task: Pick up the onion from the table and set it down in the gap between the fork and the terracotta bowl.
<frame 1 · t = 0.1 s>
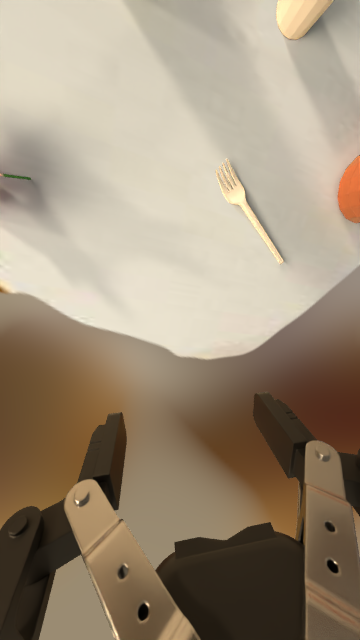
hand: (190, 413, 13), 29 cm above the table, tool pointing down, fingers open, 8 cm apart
fork: (251, 219, 38), on the table
cream cylinder: (294, 13, 30), on the table
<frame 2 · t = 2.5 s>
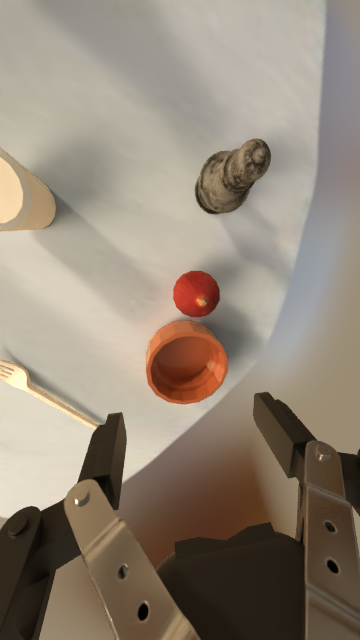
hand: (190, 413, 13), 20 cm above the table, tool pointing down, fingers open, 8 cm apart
onion: (190, 288, 31), on the table
fork: (50, 394, 33), on the table
cream cylinder: (30, 203, 25), on the table
bowl: (182, 352, 34), on the table
pawn-shaped pepper mill: (215, 191, 27), on the table
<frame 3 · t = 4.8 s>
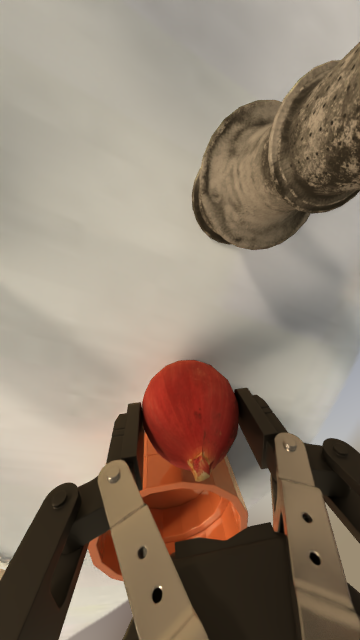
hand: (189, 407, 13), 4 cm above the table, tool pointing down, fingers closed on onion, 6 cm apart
onion: (181, 373, 17), on the table, touching gripper
bowl: (166, 469, 20), on the table
pawn-shaped pepper mill: (233, 199, 13), on the table
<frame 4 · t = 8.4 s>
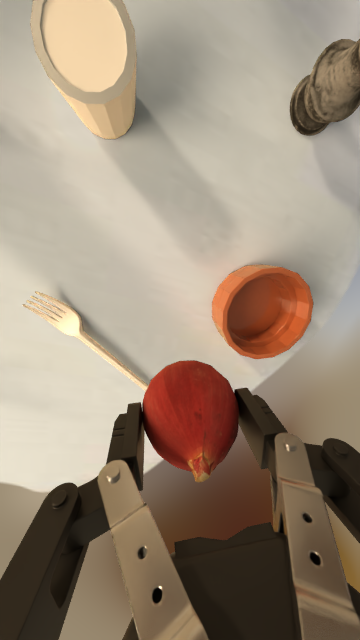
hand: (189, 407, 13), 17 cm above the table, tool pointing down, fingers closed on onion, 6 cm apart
onion: (181, 373, 17), point 13 cm above the table, touching gripper
fork: (101, 347, 29), on the table
cream cylinder: (106, 105, 21), on the table
bowl: (249, 305, 30), on the table
pawn-shaped pepper mill: (311, 107, 23), on the table
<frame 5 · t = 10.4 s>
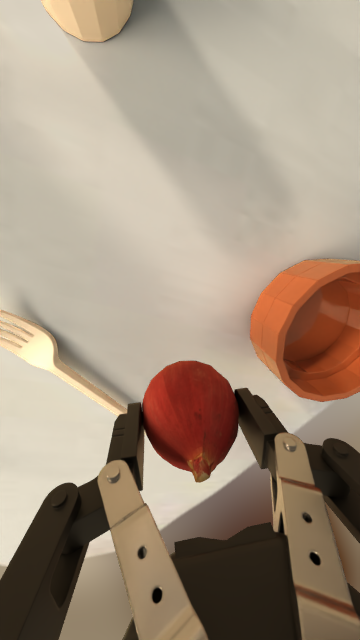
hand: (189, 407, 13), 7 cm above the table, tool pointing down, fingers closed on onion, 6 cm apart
onion: (181, 373, 17), point 4 cm above the table, touching gripper
fork: (88, 380, 20), on the table
bowl: (302, 318, 21), on the table
when the fingers open (4 cm above the table, at t = 11.9 s): onion stays where it is, on the table.
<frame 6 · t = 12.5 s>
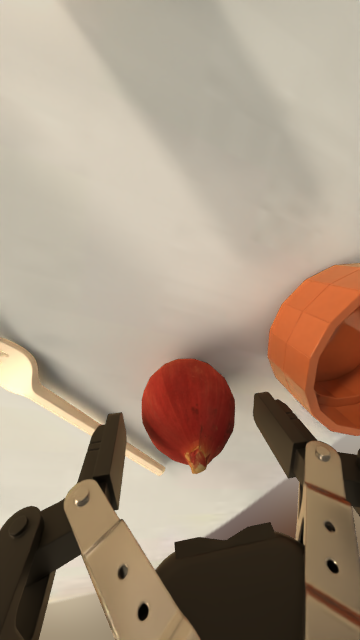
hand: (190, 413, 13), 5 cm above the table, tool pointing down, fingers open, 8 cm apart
onion: (180, 371, 17), on the table
fork: (76, 406, 17), on the table
bowl: (328, 332, 18), on the table
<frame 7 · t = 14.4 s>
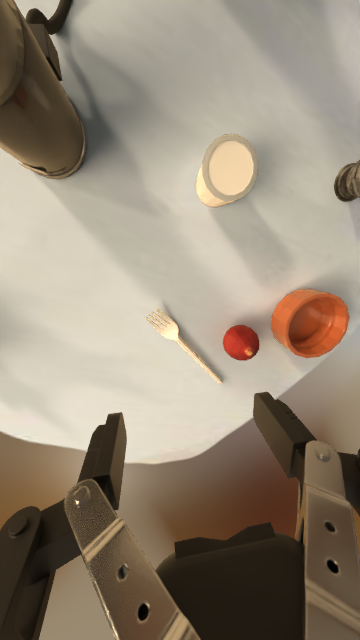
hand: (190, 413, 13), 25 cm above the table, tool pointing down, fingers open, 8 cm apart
onion: (232, 334, 40), on the table
fork: (188, 348, 39), on the table
cream cylinder: (214, 186, 32), on the table
bowl: (297, 318, 40), on the table
pawn-shaped pepper mill: (348, 183, 34), on the table
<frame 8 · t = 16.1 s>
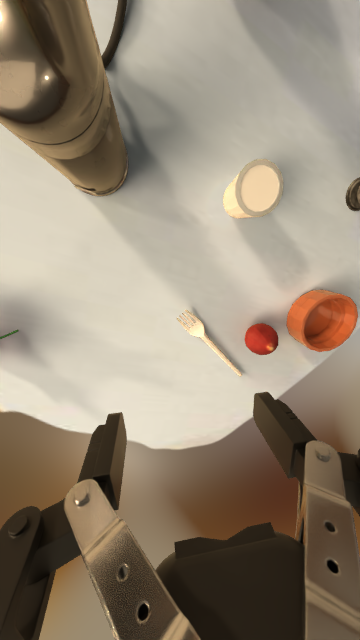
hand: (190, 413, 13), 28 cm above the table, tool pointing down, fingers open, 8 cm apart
onion: (251, 331, 44), on the table
fork: (211, 344, 43), on the table
cream cylinder: (239, 199, 35), on the table
bowl: (310, 316, 44), on the table
pawn-shaped pepper mill: (358, 194, 38), on the table
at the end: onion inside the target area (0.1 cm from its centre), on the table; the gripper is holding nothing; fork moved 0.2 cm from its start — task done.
